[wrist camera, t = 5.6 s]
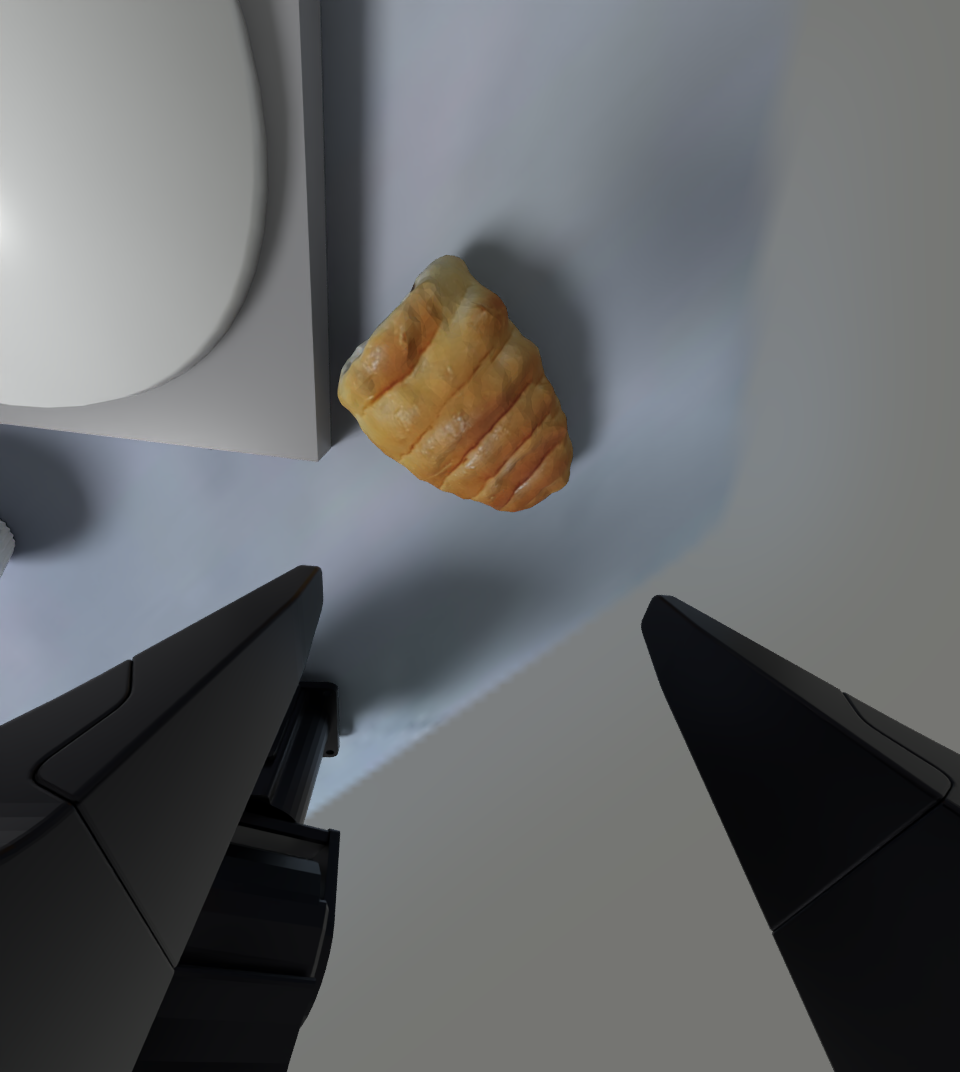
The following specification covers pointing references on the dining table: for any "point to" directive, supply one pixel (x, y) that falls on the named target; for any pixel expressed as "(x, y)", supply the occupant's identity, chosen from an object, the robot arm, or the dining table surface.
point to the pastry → (460, 394)
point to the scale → (165, 222)
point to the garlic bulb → (5, 546)
